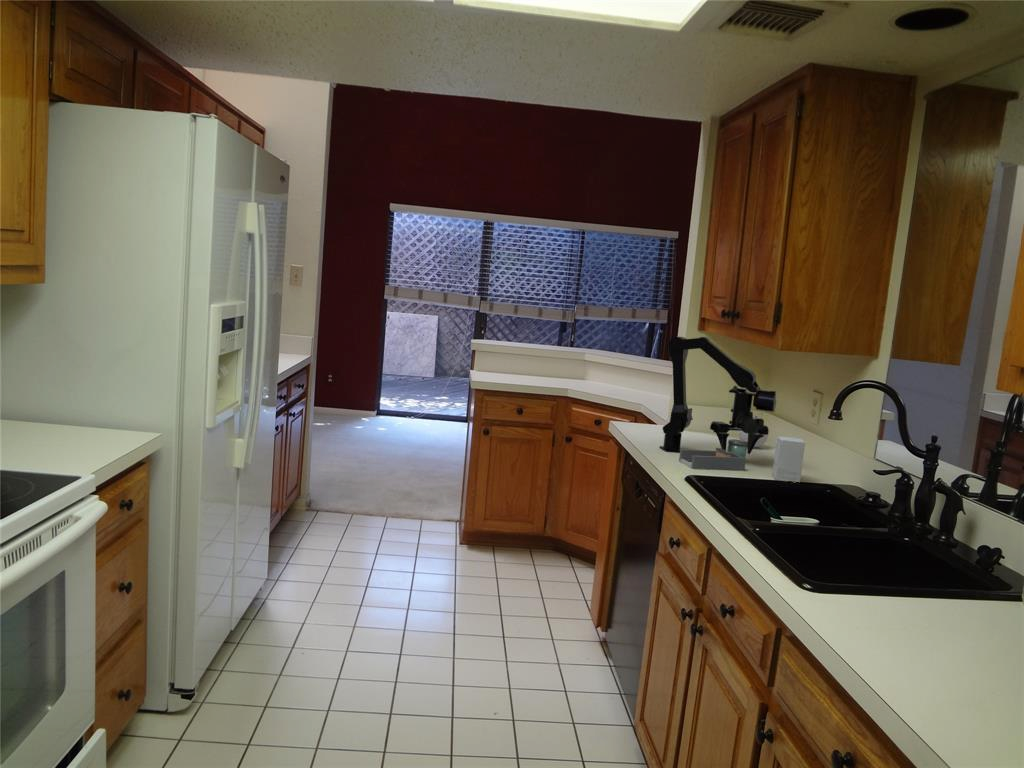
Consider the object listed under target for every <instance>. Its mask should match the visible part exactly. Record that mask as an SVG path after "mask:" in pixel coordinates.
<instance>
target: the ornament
mask: <svg viewBox="0 0 1024 768" xmlns="http://www.w3.org/2000/svg"><path fill="white" fill-rule="evenodd" d="M753 419H759V417H758V415H753ZM768 436H769V434H768V435H764V437H761V438H760V439H758V441H757V442H756V444H755V446H754V447H753V449H754V448H760V447H762V446H764V445H765V443H766V442H767V441H768ZM738 437H739V438H738V439H739V440H743V441H746V442H748V433H744V432H743V431H738Z"/></svg>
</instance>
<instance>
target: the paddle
mask: <svg viewBox="0 0 1024 768" xmlns="http://www.w3.org/2000/svg"><path fill="white" fill-rule="evenodd" d="M715 451H716V457H731V454H732V453H730V452H728V450H727V449H726V450H723V449H722V448H721V447H715Z"/></svg>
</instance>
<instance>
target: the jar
mask: <svg viewBox="0 0 1024 768" xmlns="http://www.w3.org/2000/svg"><path fill="white" fill-rule="evenodd" d="M747 444H748V442H746V441H743V440H740V439H734V438H733V439H732V438H731V439H727V451H731V452H733V453H735V454H737V455H740V456H742V457H744V458H747V457H746V456H747Z"/></svg>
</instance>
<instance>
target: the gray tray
mask: <svg viewBox="0 0 1024 768" xmlns="http://www.w3.org/2000/svg"><path fill="white" fill-rule="evenodd" d="M727 451H728V450H727ZM728 452H730V453H732V454H731V457H716V450H711V449H709V450H707V449H704V450H703V449H689V448H687V449H685V448H684V449H683V448H680V452H679V456H678V462H680V463H682V464H683V465H685V466H686V467H688V468H690V469H693V470H714V471H715V470H719V471H745V470H746V463H747V462H746V461H747V457H745V458H744V457H742V456H740V455H737V454H735V453H733V452H731V451H728Z"/></svg>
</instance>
